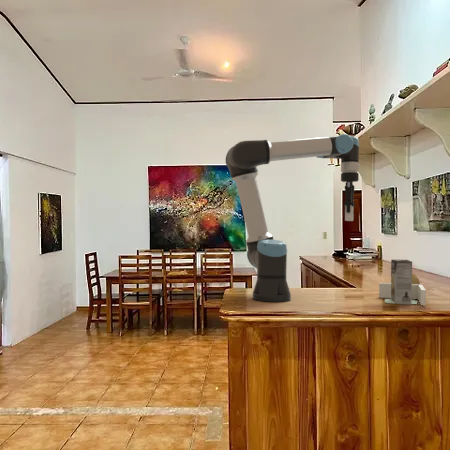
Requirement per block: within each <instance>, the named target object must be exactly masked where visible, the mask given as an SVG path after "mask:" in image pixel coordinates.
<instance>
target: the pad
mask: <svg viewBox="0 0 450 450" xmlns="http://www.w3.org/2000/svg"><path fill="white" fill-rule="evenodd" d="M417 302H418V300H415V299H412V303H395V302H394V301H393V300H391V298H384V303H385V304H394V305H395V304H396V305H398V304H399V305H410V304H417Z"/></svg>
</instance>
